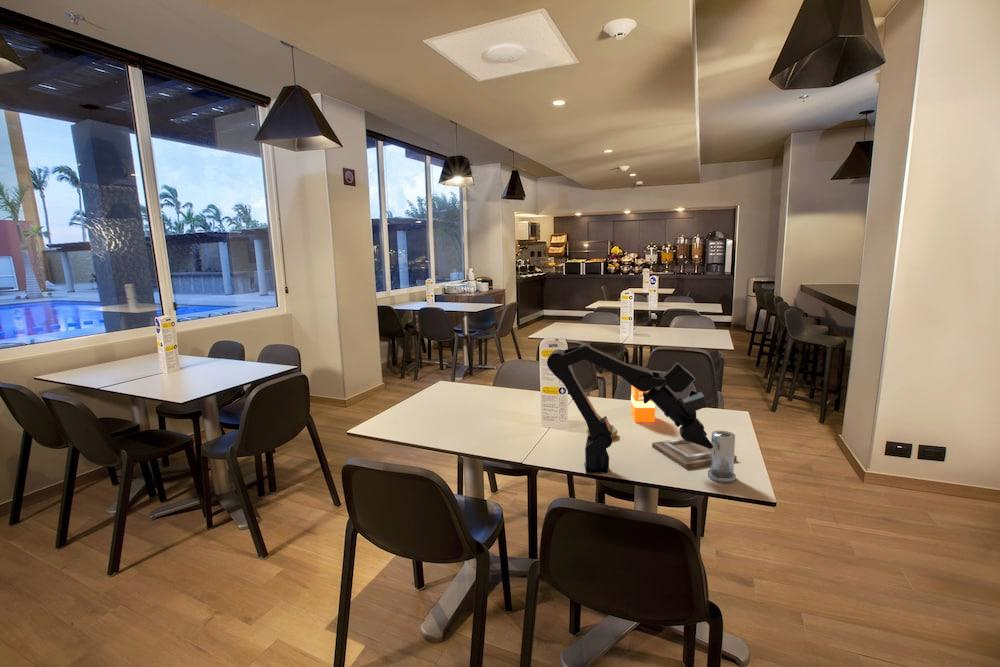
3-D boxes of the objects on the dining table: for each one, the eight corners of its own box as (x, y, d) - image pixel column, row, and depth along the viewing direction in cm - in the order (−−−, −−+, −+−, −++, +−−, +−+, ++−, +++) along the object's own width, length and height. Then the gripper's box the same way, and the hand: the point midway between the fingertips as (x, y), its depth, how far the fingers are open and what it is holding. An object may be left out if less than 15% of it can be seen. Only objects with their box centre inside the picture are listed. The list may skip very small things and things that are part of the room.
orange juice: (650, 415, 192) (651, 366, 189) (655, 422, 183) (656, 371, 180) (630, 415, 193) (630, 366, 190) (634, 422, 184) (634, 372, 181)
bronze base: (685, 469, 143) (686, 461, 143) (652, 447, 160) (652, 439, 160) (736, 460, 147) (736, 453, 147) (698, 440, 165) (698, 433, 164)
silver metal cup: (712, 483, 134) (714, 438, 132) (704, 472, 141) (705, 429, 139) (739, 483, 133) (741, 438, 131) (729, 472, 140) (731, 429, 138)
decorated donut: (606, 444, 165) (606, 433, 164) (580, 436, 172) (580, 426, 172) (622, 435, 172) (622, 425, 171) (597, 428, 180) (597, 419, 179)
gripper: (695, 393, 126) (739, 435, 125) (685, 376, 144) (723, 412, 143) (663, 420, 129) (706, 461, 128) (657, 400, 147) (695, 436, 146)
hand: (708, 441), depth 136 cm, fingers open, 9 cm apart
